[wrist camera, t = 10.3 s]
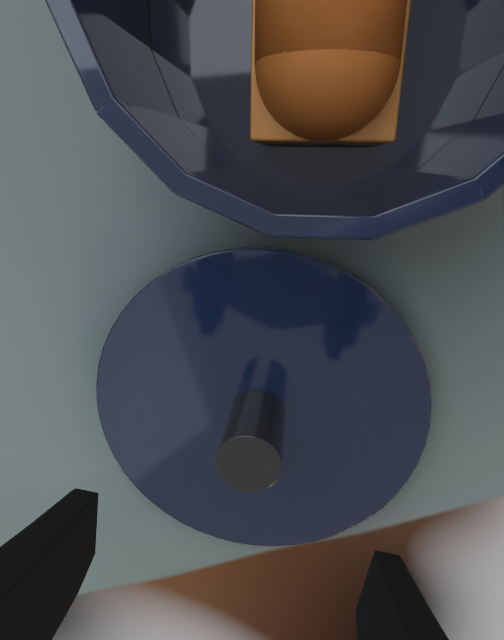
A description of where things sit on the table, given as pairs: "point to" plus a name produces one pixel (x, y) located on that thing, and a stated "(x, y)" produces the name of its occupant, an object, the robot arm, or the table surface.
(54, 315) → the table surface
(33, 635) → the robot arm
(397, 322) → the lid
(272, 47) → the bread
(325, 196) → the pot
